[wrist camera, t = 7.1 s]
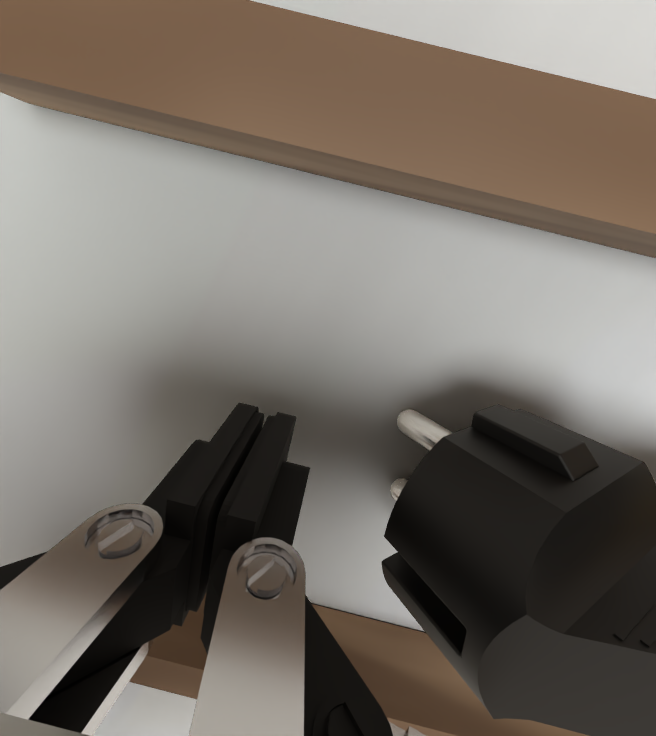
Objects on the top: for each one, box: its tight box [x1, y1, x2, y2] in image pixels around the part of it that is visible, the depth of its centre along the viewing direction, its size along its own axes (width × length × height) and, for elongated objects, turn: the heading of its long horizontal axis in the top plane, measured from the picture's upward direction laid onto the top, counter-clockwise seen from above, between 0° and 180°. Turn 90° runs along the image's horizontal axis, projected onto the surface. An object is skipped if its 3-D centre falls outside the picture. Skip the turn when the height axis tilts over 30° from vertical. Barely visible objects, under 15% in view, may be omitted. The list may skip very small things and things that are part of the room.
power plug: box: [382, 404, 656, 736], centre depth 10 cm, size 6×8×12 cm
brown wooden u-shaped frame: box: [0, 0, 656, 736], centre depth 10 cm, size 18×26×3 cm
